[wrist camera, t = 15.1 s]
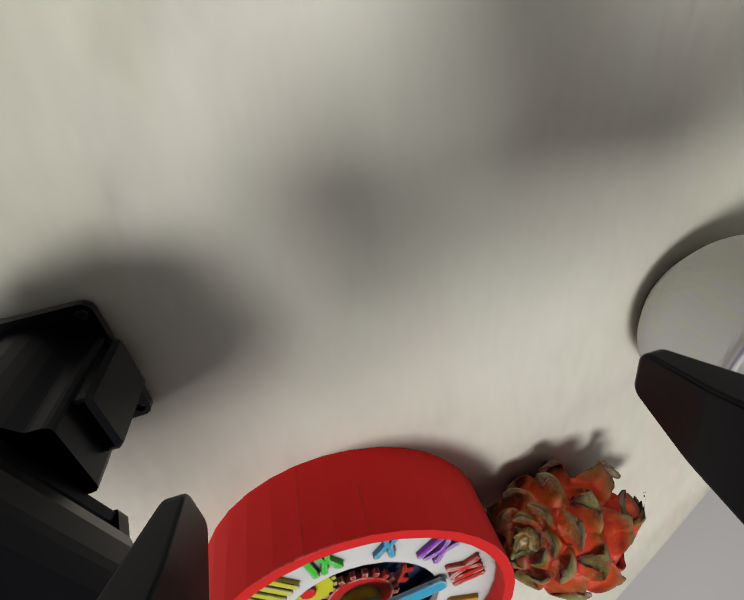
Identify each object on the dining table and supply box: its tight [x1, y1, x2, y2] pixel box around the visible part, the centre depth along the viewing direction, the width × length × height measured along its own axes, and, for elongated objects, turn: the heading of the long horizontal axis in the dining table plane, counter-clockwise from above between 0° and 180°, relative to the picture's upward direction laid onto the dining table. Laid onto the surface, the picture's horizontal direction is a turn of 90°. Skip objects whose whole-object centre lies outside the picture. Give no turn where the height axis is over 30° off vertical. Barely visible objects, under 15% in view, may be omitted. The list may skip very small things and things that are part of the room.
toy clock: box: [208, 447, 515, 600], centre depth 29 cm, size 20×6×20 cm
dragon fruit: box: [486, 461, 646, 600], centre depth 30 cm, size 8×8×12 cm
